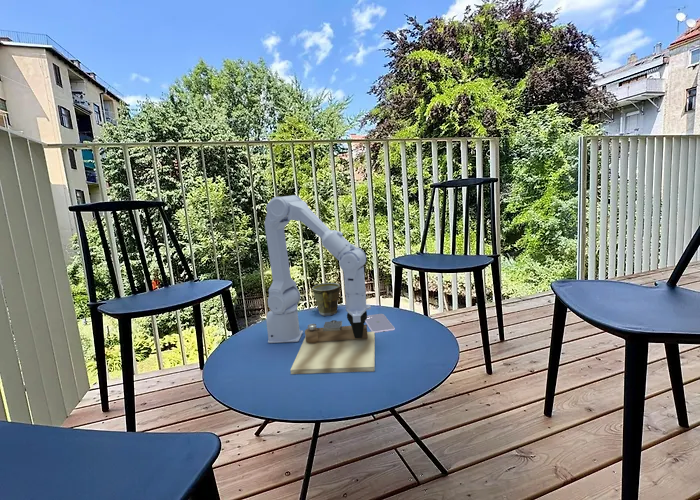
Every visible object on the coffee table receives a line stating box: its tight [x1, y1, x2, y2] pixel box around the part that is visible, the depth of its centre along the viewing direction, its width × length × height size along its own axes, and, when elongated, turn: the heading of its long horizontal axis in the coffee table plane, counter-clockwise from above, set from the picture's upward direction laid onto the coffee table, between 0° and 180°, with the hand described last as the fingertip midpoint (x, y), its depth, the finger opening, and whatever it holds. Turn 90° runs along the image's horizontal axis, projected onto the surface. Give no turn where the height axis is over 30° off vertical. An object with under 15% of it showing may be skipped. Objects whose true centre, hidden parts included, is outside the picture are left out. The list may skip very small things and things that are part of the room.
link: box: [304, 324, 368, 343], centre depth 109 cm, size 18×4×3 cm, turn 90°
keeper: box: [307, 319, 343, 331], centre depth 110 cm, size 10×6×5 cm, turn 86°
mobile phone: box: [365, 313, 396, 334], centre depth 122 cm, size 8×1×15 cm
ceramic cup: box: [312, 282, 341, 317], centre depth 134 cm, size 13×10×10 cm
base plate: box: [290, 331, 376, 375], centre depth 103 cm, size 21×22×1 cm
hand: (358, 337), depth 106 cm, fingers closed
